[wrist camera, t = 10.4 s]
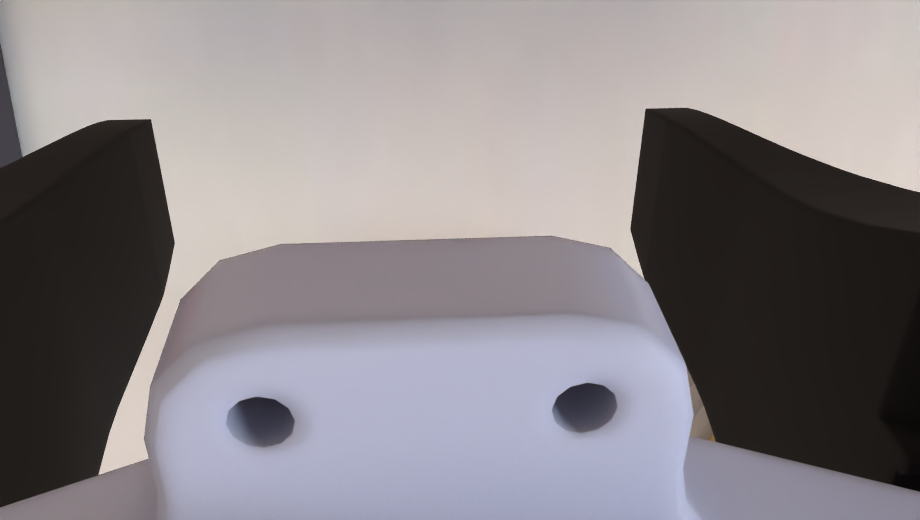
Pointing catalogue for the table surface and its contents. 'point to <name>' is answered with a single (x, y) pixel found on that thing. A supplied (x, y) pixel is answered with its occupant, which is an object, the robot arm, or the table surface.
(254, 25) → the table surface
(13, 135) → the button keypad
